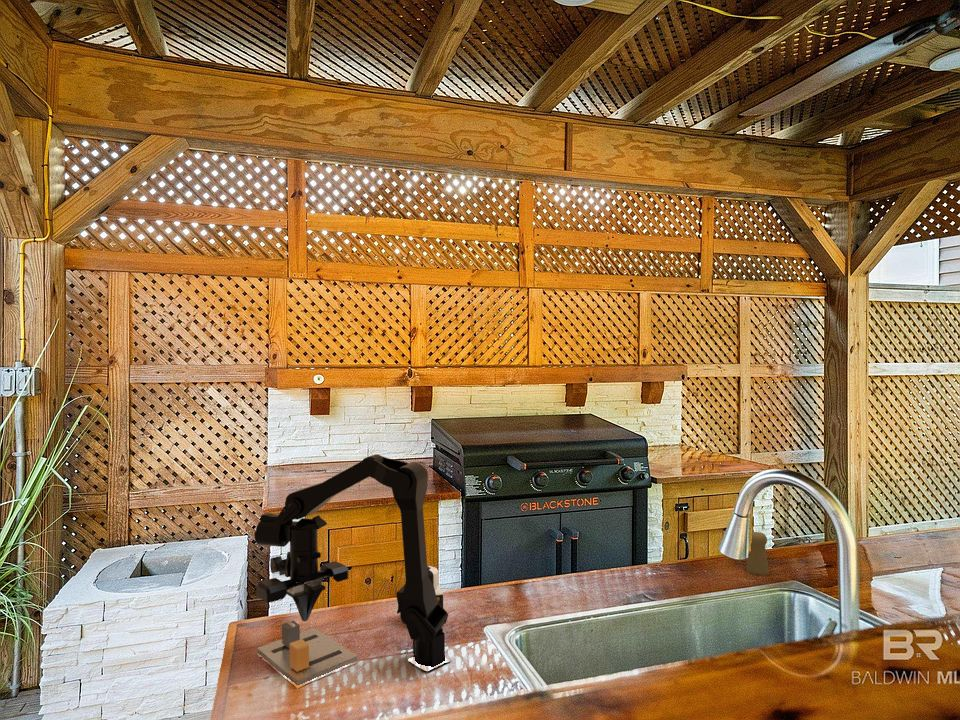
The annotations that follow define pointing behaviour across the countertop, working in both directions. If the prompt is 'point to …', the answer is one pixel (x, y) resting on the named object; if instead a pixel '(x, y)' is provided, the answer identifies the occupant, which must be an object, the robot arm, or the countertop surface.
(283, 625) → the charcoal fader
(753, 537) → the brown tall tapered piece
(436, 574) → the medicine bottle
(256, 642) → the countertop surface
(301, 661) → the orange fader
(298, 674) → the console
